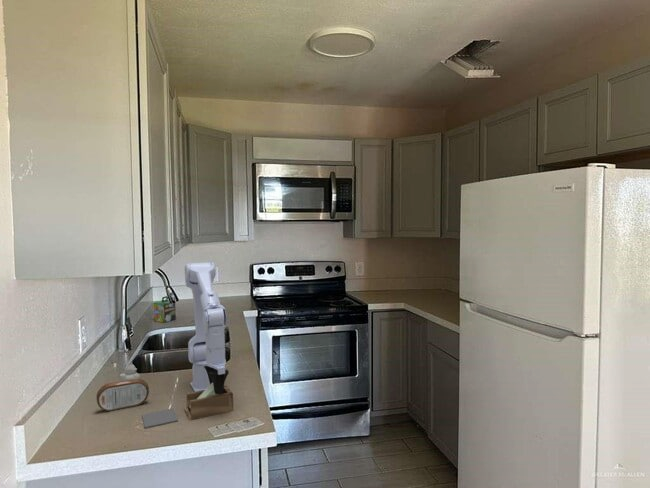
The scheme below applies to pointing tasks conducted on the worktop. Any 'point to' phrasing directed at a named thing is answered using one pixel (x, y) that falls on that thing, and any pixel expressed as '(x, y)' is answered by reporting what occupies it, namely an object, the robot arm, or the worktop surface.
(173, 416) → the mat
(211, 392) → the sage bar
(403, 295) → the worktop surface
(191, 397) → the pocket block
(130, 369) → the white tapered cone
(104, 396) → the tin
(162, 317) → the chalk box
